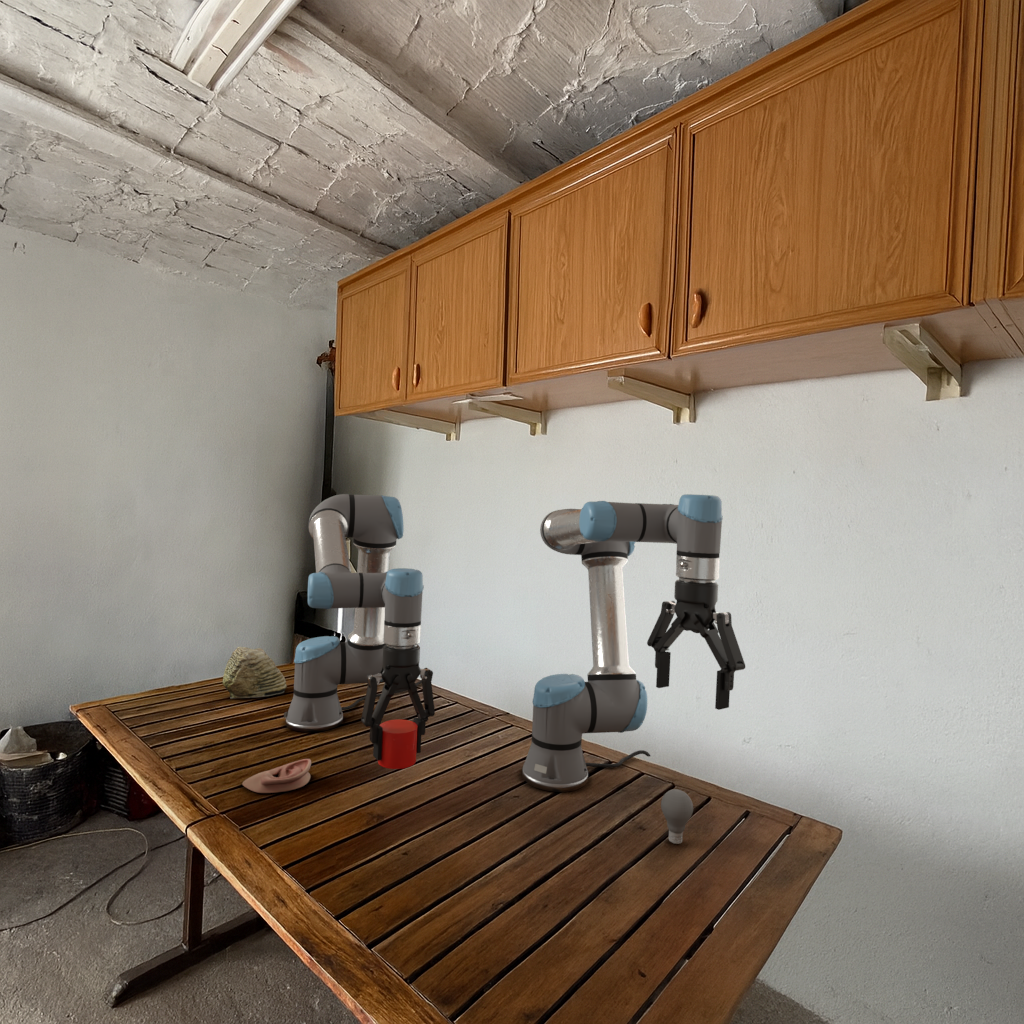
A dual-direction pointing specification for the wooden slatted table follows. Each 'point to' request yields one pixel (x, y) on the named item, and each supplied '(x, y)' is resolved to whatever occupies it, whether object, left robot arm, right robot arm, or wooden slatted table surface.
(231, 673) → the fossil
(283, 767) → the anatomical model
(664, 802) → the light bulb
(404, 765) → the can
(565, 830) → the wooden slatted table surface
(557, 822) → the wooden slatted table surface
